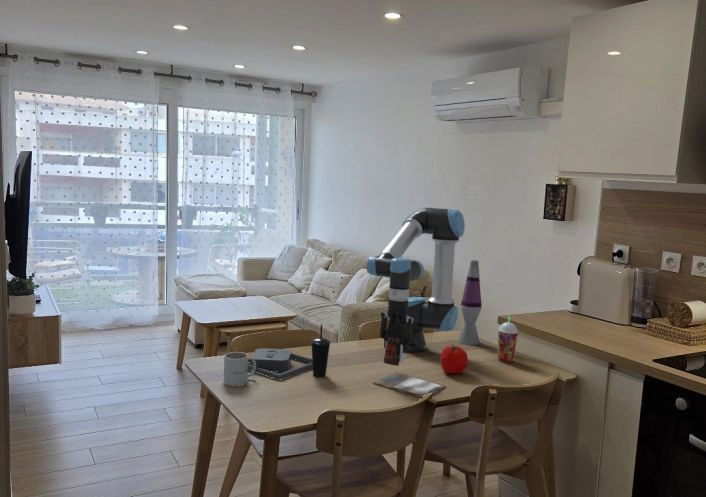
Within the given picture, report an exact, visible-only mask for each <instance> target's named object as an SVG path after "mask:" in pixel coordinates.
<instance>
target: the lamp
mask: <svg viewBox="0 0 706 497" xmlns="http://www.w3.org/2000/svg"><path fill="white" fill-rule="evenodd" d="M480 277H481V276H480V266H479V260H477V259H471V260H470V262H469V266H468V272H467V274H466V280H465V284H464V289H463V294H462V298H461V303H460V309H461V315H462V318H463V322H464V323H463V326H462V328H461V330H460V332H459V335H458V337H457V342H458V343H459V344H463V345H466V346H467V345H468V346H477V345H479V344H480V342H481V341H480V338H479V333H478V330H477V324H476V323H477V320H478V318H479V316H480V314H481V312H482V309H483V307H482V294H481V282H480V281H481V279H480Z"/></svg>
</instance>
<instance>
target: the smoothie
mask: <svg viewBox="0 0 706 497" xmlns="http://www.w3.org/2000/svg"><path fill="white" fill-rule="evenodd" d="M510 318H511V316H510V315H508V318H507V319H508V320H507V321H506V322H503V323H502V324H501V325H500V326H499V328H497V331H498V332H497V358H498V361H499V362H501V363H506V364H507V363H512V362H513V360H514V359H515V354H516V353H515V352H516V346H517V339H518V333H519V331H518V328H517V326H516V325H515V324H514V323H512V322H510V321H511V320H510Z"/></svg>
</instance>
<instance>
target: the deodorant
mask: <svg viewBox="0 0 706 497" xmlns="http://www.w3.org/2000/svg"><path fill="white" fill-rule="evenodd" d="M405 327H406V326H405ZM401 344H403V343H402V338H401V332H400V327H398V324H396V323H395V324H393V323H392V324H391V326H390V330H389V335H388V340H387V345H386V350H384V355H383V361H382V362H383V363H384V364H386V365H391V366H397V367H398V366H399V365H400V346H401Z"/></svg>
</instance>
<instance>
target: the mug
mask: <svg viewBox="0 0 706 497" xmlns="http://www.w3.org/2000/svg"><path fill="white" fill-rule="evenodd" d="M248 360H252V361H253V370H252V371H250V373H249V370H248V364H249V363H248ZM223 362H224V363H223V384H224V383H225V384H224V385H226V384H228V385H227V386H229V385H241V386H243V385H242V384H245V383H246V382H247V381H248V378H249V377H252V376H254V375H255V374H256V373H255V370H256V362H255V359H254V358H252V357H251V356H249V354H248V353H246V352H242V351H231V352H226V353H225V354H224V355H223ZM247 383H248V382H247ZM247 383H246V384H247ZM246 384H245V385H246Z"/></svg>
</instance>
